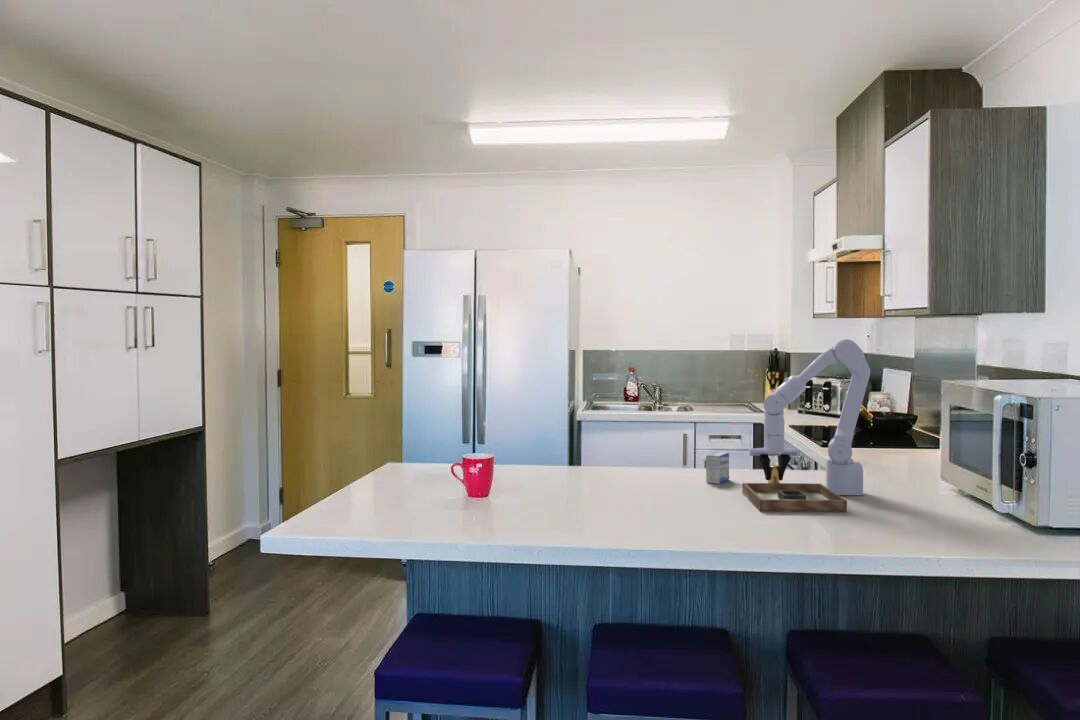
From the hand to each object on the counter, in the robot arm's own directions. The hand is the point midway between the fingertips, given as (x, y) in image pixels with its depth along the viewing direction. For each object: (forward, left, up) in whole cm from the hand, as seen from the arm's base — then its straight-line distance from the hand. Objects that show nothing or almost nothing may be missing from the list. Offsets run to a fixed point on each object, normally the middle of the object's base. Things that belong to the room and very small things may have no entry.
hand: (773, 479), depth 207 cm
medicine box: (+15, -8, -3) cm, 17 cm away
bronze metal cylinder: (0, 0, -2) cm, 2 cm away
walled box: (0, +18, -2) cm, 18 cm away
